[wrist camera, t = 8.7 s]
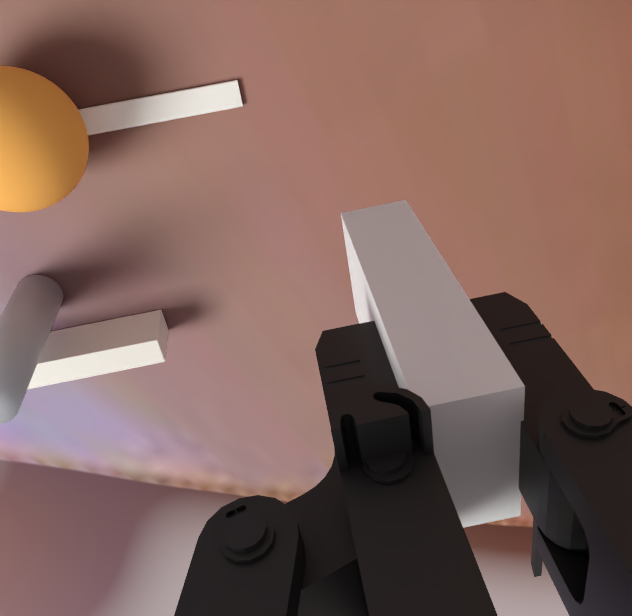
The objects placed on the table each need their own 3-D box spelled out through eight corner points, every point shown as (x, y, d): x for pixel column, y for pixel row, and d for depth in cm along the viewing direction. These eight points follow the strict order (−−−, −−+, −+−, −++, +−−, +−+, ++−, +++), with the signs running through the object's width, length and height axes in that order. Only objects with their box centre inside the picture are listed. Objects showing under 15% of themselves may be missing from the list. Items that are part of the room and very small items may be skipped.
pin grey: (53, 270, 33) (4, 376, 25) (70, 307, 34) (28, 418, 26) (9, 279, 33) (-54, 388, 25) (27, 315, 34) (-27, 429, 26)
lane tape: (237, 79, 29) (237, 80, 28) (242, 105, 29) (242, 106, 29) (26, 119, 28) (25, 120, 28) (36, 143, 29) (35, 145, 29)
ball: (-98, 78, 26) (46, 44, 28) (-32, 208, 29) (92, 169, 31) (-103, 98, 21) (70, 56, 23) (-23, 251, 24) (122, 202, 26)
